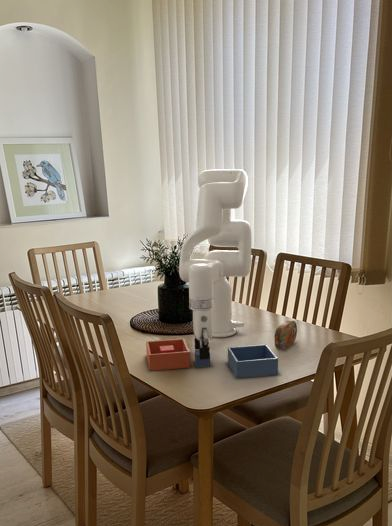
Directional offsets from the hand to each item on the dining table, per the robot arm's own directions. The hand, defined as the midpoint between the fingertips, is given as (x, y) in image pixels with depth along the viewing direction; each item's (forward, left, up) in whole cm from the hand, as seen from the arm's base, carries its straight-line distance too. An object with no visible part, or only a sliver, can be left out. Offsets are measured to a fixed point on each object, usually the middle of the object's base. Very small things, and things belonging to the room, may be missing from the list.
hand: (202, 353), depth 179 cm
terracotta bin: (+11, -6, -4) cm, 13 cm away
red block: (+11, -5, -4) cm, 13 cm away
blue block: (0, -1, -4) cm, 4 cm away
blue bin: (-15, +6, -4) cm, 17 cm away
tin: (-32, -12, -4) cm, 34 cm away
